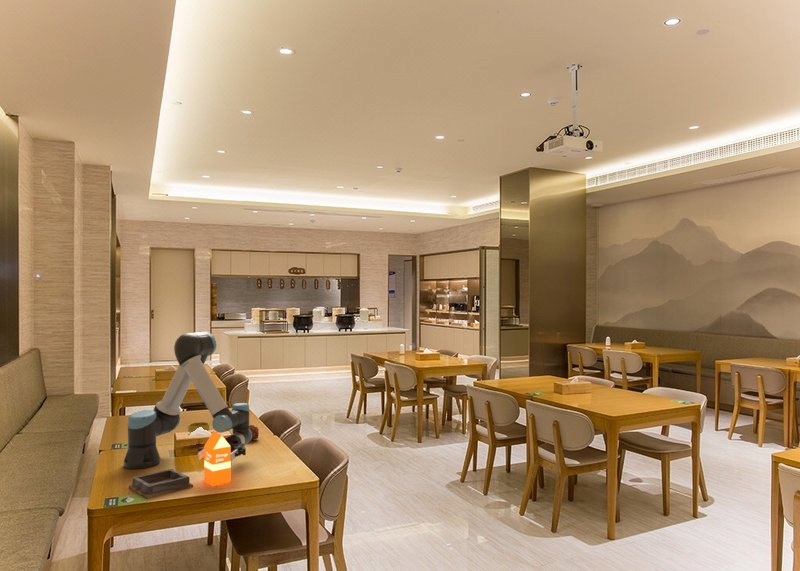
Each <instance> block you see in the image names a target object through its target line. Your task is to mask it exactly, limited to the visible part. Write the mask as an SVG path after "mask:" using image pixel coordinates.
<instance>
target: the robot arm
mask: <svg viewBox="0 0 800 571" xmlns="http://www.w3.org/2000/svg"><path fill="white" fill-rule="evenodd" d="M216 349H217V341H216V338H215V336H214V335H213V334H212V333H211V332H209V331H202V330H201V331H198V332H197V331H196V332H186V333H183V334H181V335H179V337H178V338H176V340H175V342H174V347H173V350H174V355H175V358H176V359H175V360H177V363H178V366H177V368H176V370H175V372H174V374H173V376H172V378H171V381H170V382H169V385H168V387H167V389H166V391H165V393H164V395H163V397H162V398H161V400H160V401H158V402H156V403H155V406H154V408H153V410H152V409H143V410H141V411H136V412H133V413H132V414H130V415H129V417H128V418H127V420H128V421H127V451H126V454H125V456H124V460H123V468H125V469H129V470H140V469H146V468H147V469H148V468H151V467H154V466H157V465H160V463H161V456H160V454H159V453H160V452H159V451H158V448H157V437H159V436H161V435H164V434H168V433H170V432H172V431H174V430H175V429H177V428H178V426H179V424H180V422H181V416H180V414H181V409H180V407H181V404H182V402H183V400H184V398H185V397H186V394H187V392H188V390H189V388H190V385H191V384H193V385H194V387H195V389H196V391H197V392H198V394H199V396H200V398H201V400H202V401H203V403H204V405H205V406H206V408H207V410H208V412H209V413H210V415H211V417H212V418H213V420H212V423H211V424H212V428H213V431H214V432H217V433H219V434H221V433H225V432H229V431H231V430H232V433H231V434H230V435H228V436H227V437H224V438H225V440H226V441H227V442H228V444H229V445H230V446H231V453H230V460H231V461H234V459H236V458H237V457H240V456H241V455H243V456H246V454H247V453H246V450H247V449H246V447H245V446H246V445H247V444H249V443H250V442H251V441H250V440H251V438H252V432H251V430H250V429H249V426H250V405H249V403H247V402H237V403H236V402H235V403H234V404H232V408H231V410H230V408H229V407H228V405H227V403H226V402H225V399H224V398H223V396H222V395H221V393H220V391H219V389H218V388H217V386H216V384H215V382H214V380H213V378H212V377H211V376H210V373H209V372H208V370H207V369H206V367H205V365H204V364H205V363H206V361H207V359H208V357H209V356H212V355H213V354H214V353H215V351H216ZM197 452H198V453H197V456H196V457H197V461H200V460H202V459H203V458H204V446H202V447H199V448H198V451H197Z"/></svg>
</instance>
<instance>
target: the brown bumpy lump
mask: <svg viewBox="0 0 800 571" xmlns="http://www.w3.org/2000/svg"><path fill="white" fill-rule="evenodd" d="M249 429H250V430H251V432H252V438H251V440H250V441H249V442H253V441H254V440H258V438H259V435H260V434H259V430H260V429H259V427H257V426H255V425H253V424H249Z"/></svg>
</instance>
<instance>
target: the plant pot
mask: <svg viewBox="0 0 800 571" xmlns="http://www.w3.org/2000/svg"><path fill="white" fill-rule="evenodd" d="M199 427H202V428H203V429H204V430H207V431H208V432H209V430H210V422H206V421H197V422H192V423H189V424H188V425H187V430H188V433H189V434H190V433H191V432H193V431H195V430H196V429H197V428H199Z"/></svg>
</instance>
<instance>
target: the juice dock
mask: <svg viewBox="0 0 800 571" xmlns="http://www.w3.org/2000/svg"><path fill="white" fill-rule="evenodd" d="M131 481H132V483H131V484H129V485H128V489H130V490H132V491H134V492H135V493H136V494H139V495H141V496H142V497H144V499H151V498H155V497H161V496H164V495H167V494H170V493H175V492H179V491H183V490H187V489H190V487H191V488H193V487H194V484H193V483H191V482H190V476H188V475H186V474H184V473H182V472H179V471H177V470H176V469H173V468H168V469H164V470H160V471H156V472H151V473H147V474H142V475H138V476H133V477H132V480H131ZM186 488H187V489H186ZM182 489H183V490H182Z"/></svg>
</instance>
